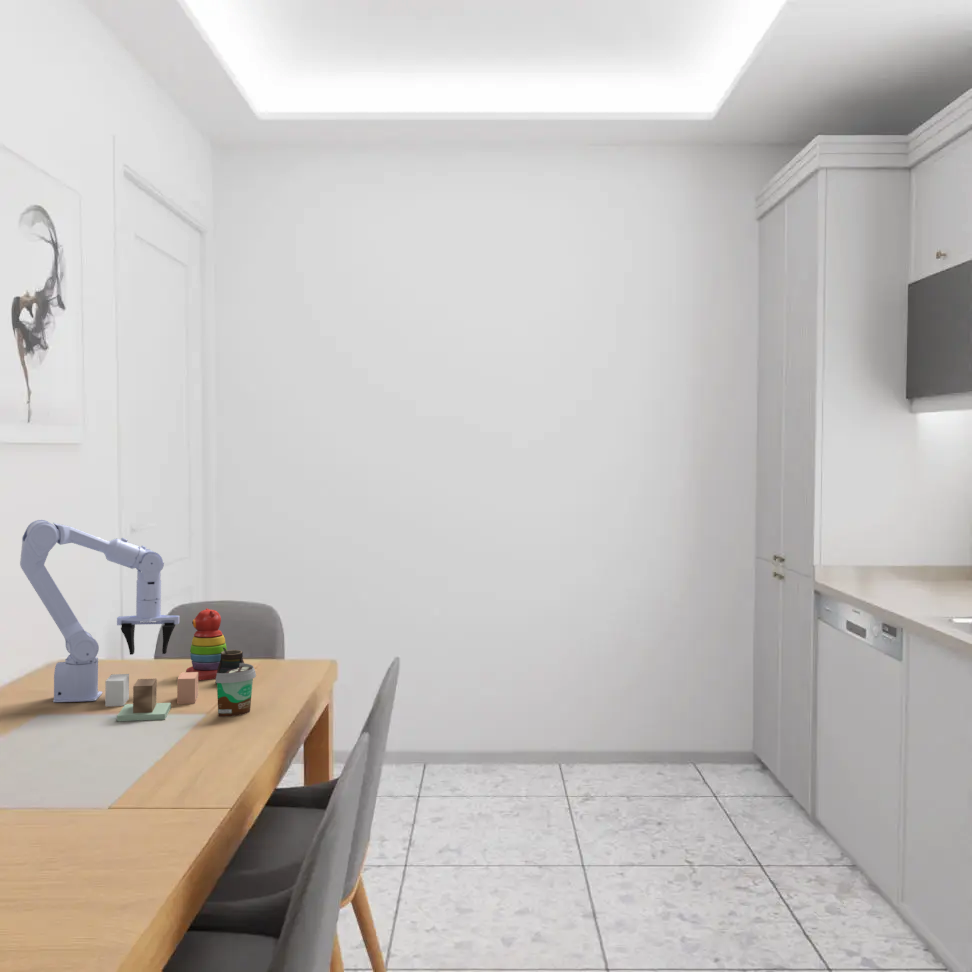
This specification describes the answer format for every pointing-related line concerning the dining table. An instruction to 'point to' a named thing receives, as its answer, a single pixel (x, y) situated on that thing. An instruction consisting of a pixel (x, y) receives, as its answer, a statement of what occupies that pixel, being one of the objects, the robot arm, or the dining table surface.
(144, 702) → the walnut brick
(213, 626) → the stacking bear
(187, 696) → the terracotta brick
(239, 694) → the food container
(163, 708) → the sage green board
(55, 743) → the dining table surface
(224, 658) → the mate gourd
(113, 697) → the pale grey brick
